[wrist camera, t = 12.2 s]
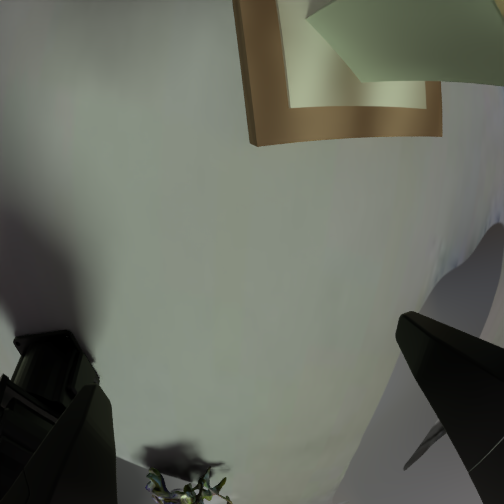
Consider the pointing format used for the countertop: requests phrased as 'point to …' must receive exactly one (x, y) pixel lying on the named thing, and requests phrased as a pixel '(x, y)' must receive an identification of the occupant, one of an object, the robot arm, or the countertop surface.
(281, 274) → the countertop surface
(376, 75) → the tea tin
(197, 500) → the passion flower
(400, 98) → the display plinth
